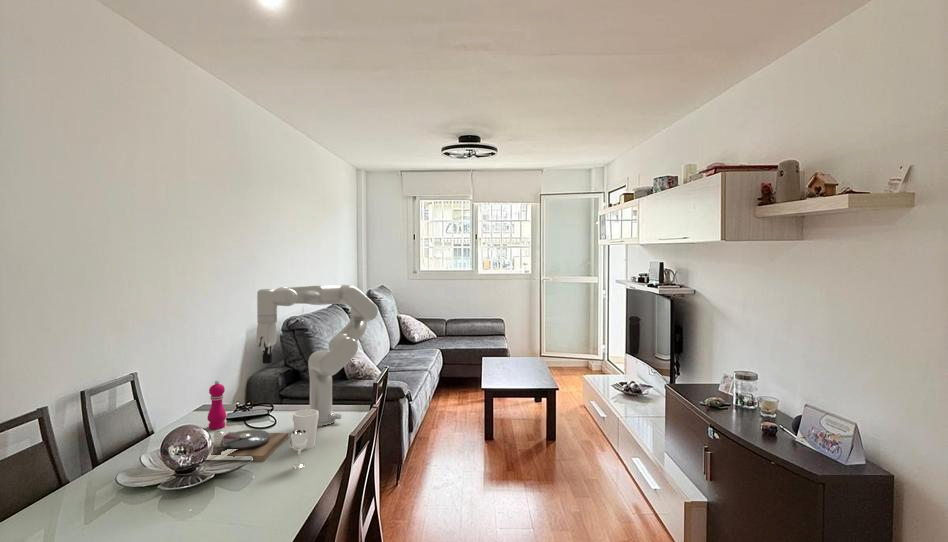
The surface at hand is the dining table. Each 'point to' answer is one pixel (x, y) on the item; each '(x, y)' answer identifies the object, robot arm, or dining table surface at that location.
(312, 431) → the foam cup
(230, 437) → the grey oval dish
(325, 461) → the dining table surface
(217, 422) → the pepper mill
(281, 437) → the brown flat board
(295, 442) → the wineglass
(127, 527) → the dining table surface
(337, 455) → the dining table surface
